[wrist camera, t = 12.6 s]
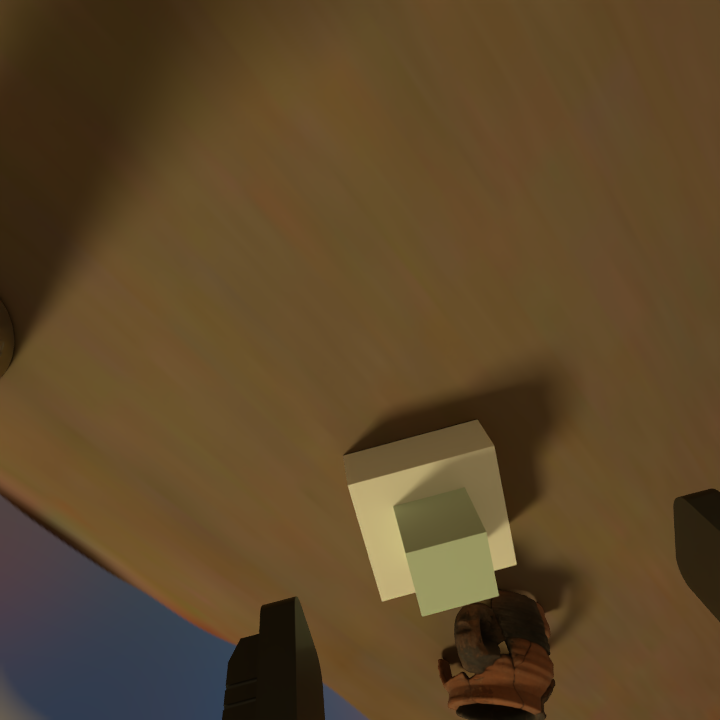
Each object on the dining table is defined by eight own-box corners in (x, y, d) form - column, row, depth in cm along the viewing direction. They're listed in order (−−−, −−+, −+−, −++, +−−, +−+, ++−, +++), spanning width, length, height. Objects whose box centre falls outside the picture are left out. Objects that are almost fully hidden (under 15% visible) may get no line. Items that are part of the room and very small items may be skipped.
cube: (393, 506, 42) (405, 553, 38) (464, 487, 42) (486, 531, 38) (408, 564, 44) (422, 616, 39) (477, 546, 44) (499, 596, 39)
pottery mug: (568, 621, 53) (578, 730, 48) (468, 631, 58) (467, 732, 53) (507, 561, 47) (510, 680, 41) (400, 577, 51) (390, 686, 46)
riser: (375, 564, 49) (382, 601, 45) (342, 455, 45) (347, 485, 41) (499, 531, 49) (516, 564, 45) (477, 419, 45) (494, 445, 41)
